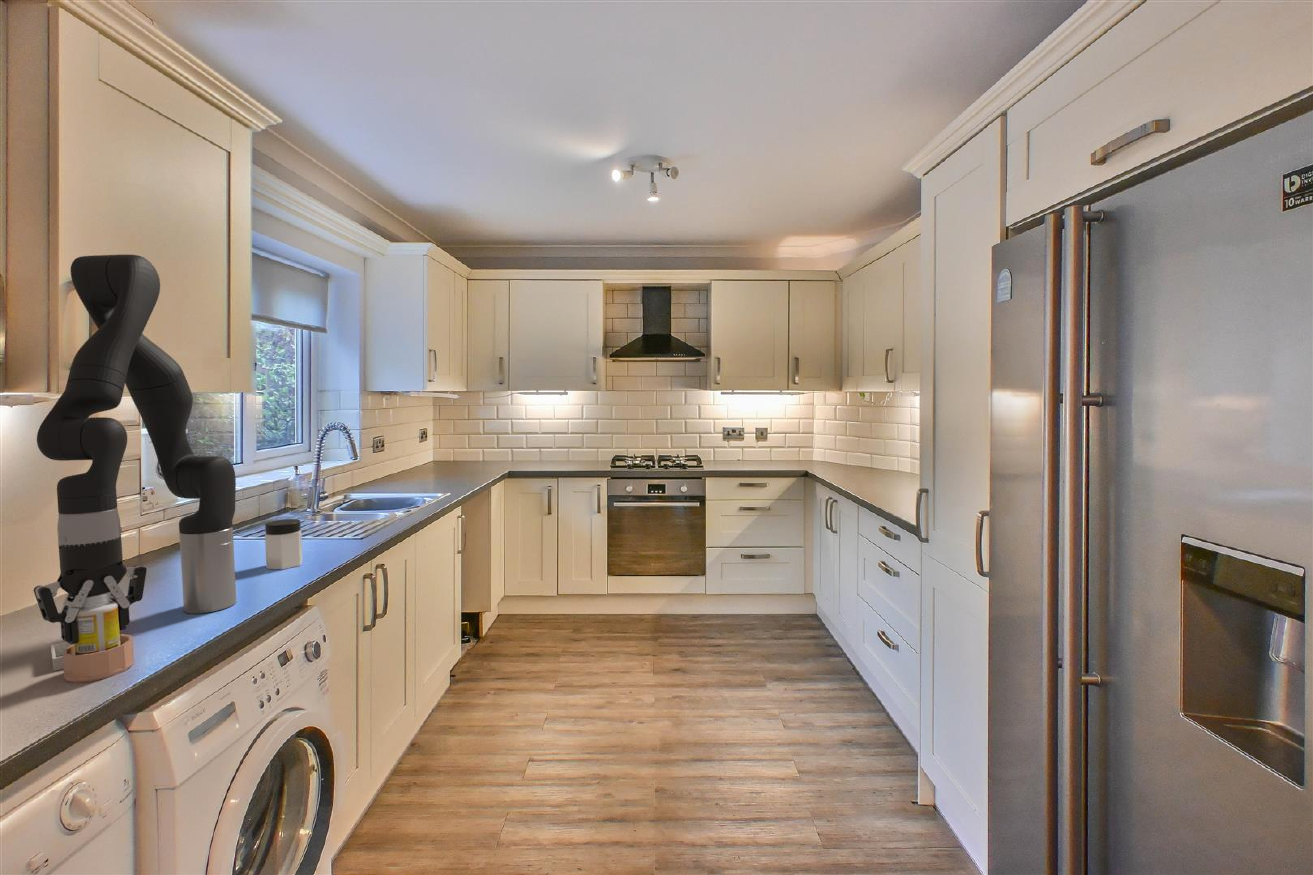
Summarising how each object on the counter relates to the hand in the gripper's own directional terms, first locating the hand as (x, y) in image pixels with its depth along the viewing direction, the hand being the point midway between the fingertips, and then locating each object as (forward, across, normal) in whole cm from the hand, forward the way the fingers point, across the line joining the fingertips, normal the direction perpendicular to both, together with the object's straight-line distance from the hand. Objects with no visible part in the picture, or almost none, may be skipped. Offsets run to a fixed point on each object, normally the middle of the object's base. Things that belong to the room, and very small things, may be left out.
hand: (96, 635), depth 98 cm
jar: (+6, -51, -34) cm, 62 cm away
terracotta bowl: (+6, 0, 0) cm, 6 cm away
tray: (+6, -1, -9) cm, 11 cm away
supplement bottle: (+3, 0, 0) cm, 3 cm away
